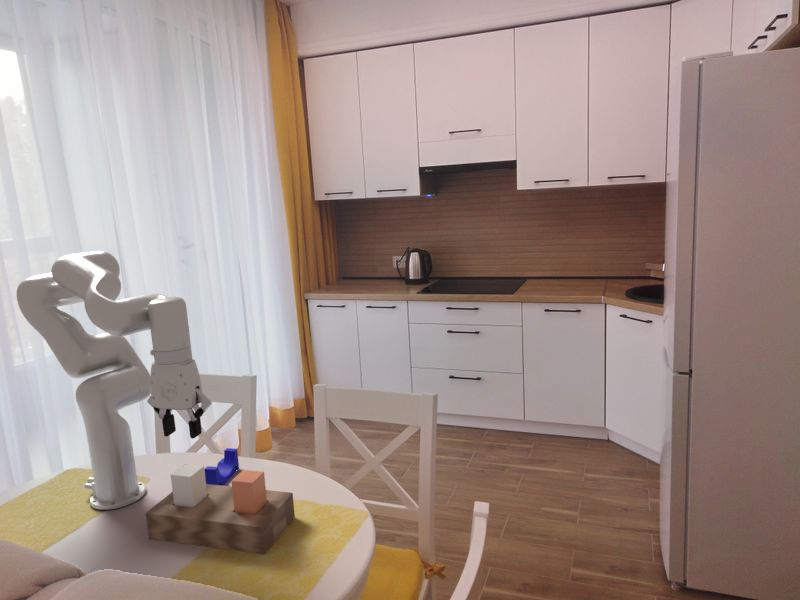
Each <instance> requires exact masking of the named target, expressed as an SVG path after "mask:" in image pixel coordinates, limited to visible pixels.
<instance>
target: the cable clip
mask: <svg viewBox="0 0 800 600" xmlns="http://www.w3.org/2000/svg"><path fill="white" fill-rule="evenodd" d="M223 452H224V453H223V454H224V455H223V456H224V457H223V458H221V459H220V460H219V461H218V462H217V465H216V466H209V465H208V466H206V467H204V472H205V480H206V484H211V485H221V486H225V484H226V483H228V481H229V480H230V479H231V478H232V477H233V476H234V475H235V474H236V473H237V472H236V470H238V469H240V464H239V463H240V462H239V454H238V448H229V447H227V448H226V449H224V450H223ZM238 471H239V470H238ZM235 472H236V473H235ZM234 473H235V474H234ZM233 474H234V475H233ZM232 475H233V476H232Z"/></svg>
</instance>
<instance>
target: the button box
mask: <svg viewBox="0 0 800 600" xmlns="http://www.w3.org/2000/svg"><path fill="white" fill-rule="evenodd" d="M206 489H207V497H206V498H205V499H204V500H203V501H201V502H200V503H199V504H198V505H197V506H196V507H195V508H194V507H185V506H176V505H174V497H173V491H172V492H170V493H169V494H168V495H166V496H165V497H164V498H163V499H161V500H160V501H158V502H157V503H155V505H154V506H152V507H151V508H150V509H148V510H147V511H146V512H145V513H144V514H145V521H146V527H147V528H146V529H147V535H148V540H149V539H150V540H158V541H164V542H172V543H180V544H187V545H193V546H194V545H195V546H201V547H202V546H203V547H210V548H216V549H224V550H232V551H238V552H239V551H240V552H245V553H247V552H248V553H255V554H260V555H262V554H263V555H266V553H267V552H268V551H269V550H270V548H271V547H272V546H273V545H274V543H275V542H276V541H277V540H278V539H279V537H280V536H282V533H283V532H284V531H285V530H286V528H288V526H289V525H290V524H291V523H292V521H293V520H294V519H295V518H296V517H295V506H294V505H295V504H294V503H295V502H294V494H293V492H289V491H288V492H287V491H279V490H270V489H269V490H267V489H266V497H267V504H266V505H265V506H264V507H263V508H262V509H261V510H260V511H259V512H258V513H257V514H256V515H255V514H246V513H237V512H235V510H234V501H233V492H232V485H223V486H221V485H211V484H206ZM294 517H295V518H294ZM293 518H294V519H293Z"/></svg>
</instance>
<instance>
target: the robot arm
mask: <svg viewBox="0 0 800 600" xmlns="http://www.w3.org/2000/svg"><path fill="white" fill-rule="evenodd" d="M50 271H51V272H48V273H41V274H37V275H32V276H30V277H28V278H25V279H23V280H22V281H21V282H19V284H18V286H17V289H16V301H17V305H18V307H19V311H20V312H21V314H22V316H23V317H24V318H25V320H26V321H27V323H29V325H31V326H32V327H33V329H34V330H35V331H37V332H38V333H39V335H40V336H41V337H42V338H43V339H44V340H45V342H46V344H47V345H48V347H49V348H50V350H51V352H52V353H53V354H54V356H55V358H56V360H57V361H58V363H59V365H60V366H61V367H62V368H63V370H64V371H65V372H66V374H67V375H68V376H69V377H70V378H72V379H82V378H83V379H85V378H86V379H85V380H84V381H82V382H80V384H78V386H77V388H76V390H75V401H76V403H77V406H78V410H79V412H80V415H81V417H82V421H83V424H84V428H85V434H86V439H87V444H88V450H89V451H88V452H89V457H90V458H89V459H90V463H91V469H92V475H93V476H90V477H88V478H87V482H86V483H85V484H84V489H86V490H91V491H92V495H91V496H90V498H89V504H90V505H89V506H91V507H92V508H93V509H96V510H103V511H104V510H106V511H107V510H114V509H115V510H116V509H120V508H122V507H126V506H129V505H131V504H133V503H135V502H137V501H139V500H140V499H141V498H142V497H143V496H144V495H145V494H146V491H147V488H146V485H145V483H143V482H142V481H139V480H138V475H137V466H136V459H135V453H134V446H133V439H132V438H133V437H132V433H131V432H132V431H131V427H130V424H129V422H128V421H127V420H126V419H125V418H124V417H123V416H122V415H120V413H119V410H120V411H121V410H122V409H124V408H126V407H129V406H132V405H134V404H137V403H140V402H141V401H145V400H146V399H147V404H148V405H150V407H152V408H153V411H155V413H156V414H157V415H158V418H159V419H160V420H161V422H162V423H161V425H162V430H163V437H169V436H170V435H172V434H173V433H175V432H176V430H177V429H176V421H175V414H173V413H172V412H173V411H172V410H174V411H175V410H176V411H186V413H187V415H188V417H189V419H190V420H189V421H188V429H189V430H188V431H189V437H190V439H196V438H197V437H198V436H200V435H201V434H202V429H203V427H202V422H201V420H202V419H201V417H203V414H205V412H206V411H207V410H208V409H209V408H210V406H211V405H212V401H211V400H210V399H209V398H208V397H207V396H206V395H205V394H204V392H203V386H202V380H201V376H200V372H199V369H198V365H197V363H196V359H193V353H192V343H191V342H192V341H191V336H190V335H191V334H190V326H189V318H188V310H187V303H186V301H185V300H184V298H182V297H179V296H167V295H164V294H162V293H150V294H149V293H148V294H143V295H138V296H134V297H133V296H132V297H128V298H123V299H119V300H117V299H118V298H119V296H120V294H121V291H122V282H121V279H120V278H119V276H120V273H121V270H120V264H119V261H118V260H117V259H116V258H115V256H114V255H112V254H111V253H109V252H108V251H104V250H96V251H88V252H78V253H71V254H67V255H63V256H61V257H59V258H57V259H56V260H55V261H54V262H53V264H52V265H51V270H50ZM79 303H84V308H85V309H84V310H85V312H86V314H87V316H88V319H89V320H90V322H91V323H92V324H93V325H95V326H96V327H97V328H99V329H100V330H102V331H103V333H97V334H95V335H94V334H93V335H92V334H89V333H88V332H87V331H86V330H85V329H84V327H83V325H82V323H80V321H79V319H77V318H75V317H74V316H73V315H71V314H69V313H67V312H65V311H62V310H61V309H58V308H57V307H63V306H68V305H73V304H79ZM149 330H150V336H151V344H152V349H150V353H149V354H150V356H152V357H153V358H154V361H153V362H151V368H150V373H149V371H148V369H147V367H146V365H145V364H144V363H143V361H142V360H141V358H140V357H139V355H138V354H137V352H136V351H135V349H134V348H133V346H132V345H131V343H130V342H129V341H128V339H127V338H126V336H129V335H133V334H136V333H141V332H145V331H149ZM87 377H88V378H87ZM199 404H200V405H199Z"/></svg>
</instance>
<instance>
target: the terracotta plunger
mask: <svg viewBox="0 0 800 600" xmlns="http://www.w3.org/2000/svg"><path fill="white" fill-rule="evenodd" d="M231 487H232V492H233V501H234V510H235V512H237V513H246V514H255V515H256V514H257V513H258V512H259V511H260V510H261V509H262V508H263V507H264V506H265V505H266V504H267V497H266V490H267V489H266V478H265V471H259V470H249V469H243V470H241V471H240V472H239V473H238V474H237V475H236V476H235V477H234V478H233V479H231Z"/></svg>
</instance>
